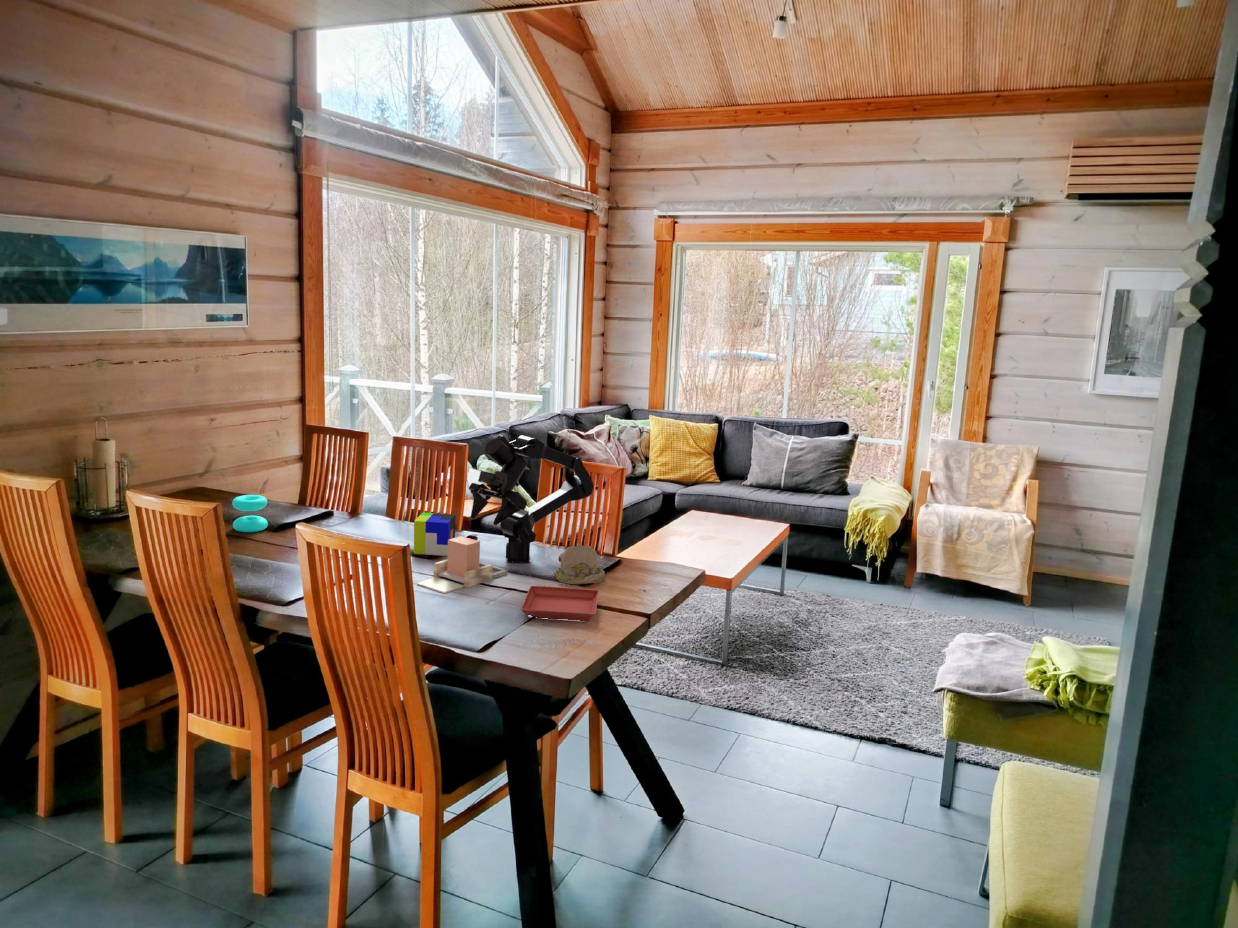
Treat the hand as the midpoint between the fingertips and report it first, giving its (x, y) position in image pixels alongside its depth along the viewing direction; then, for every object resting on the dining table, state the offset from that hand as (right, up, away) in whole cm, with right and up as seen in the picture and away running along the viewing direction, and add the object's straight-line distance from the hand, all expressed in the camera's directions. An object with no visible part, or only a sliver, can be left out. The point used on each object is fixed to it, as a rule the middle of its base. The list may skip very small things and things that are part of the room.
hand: (483, 521), depth 242 cm
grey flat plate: (0, -14, +2) cm, 14 cm away
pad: (-9, -16, -12) cm, 22 cm away
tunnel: (-5, -15, -5) cm, 17 cm away
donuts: (-77, -4, +29) cm, 82 cm away
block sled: (-5, -14, -5) cm, 16 cm away
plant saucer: (+23, -21, -24) cm, 40 cm away
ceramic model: (+26, -16, +1) cm, 31 cm away
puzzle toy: (-17, -10, +19) cm, 27 cm away
